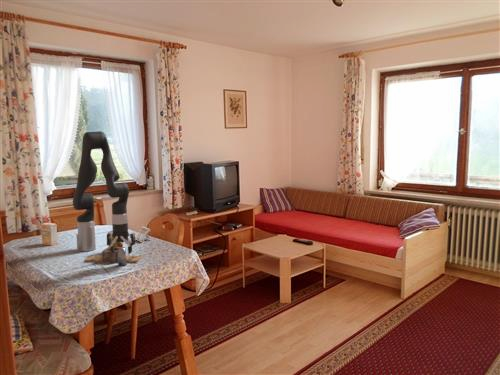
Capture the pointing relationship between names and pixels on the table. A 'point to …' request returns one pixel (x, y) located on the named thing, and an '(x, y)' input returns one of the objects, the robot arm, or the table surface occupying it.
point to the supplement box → (49, 234)
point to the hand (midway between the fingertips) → (121, 253)
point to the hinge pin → (121, 256)
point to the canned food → (117, 244)
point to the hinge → (111, 257)
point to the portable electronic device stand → (144, 234)
